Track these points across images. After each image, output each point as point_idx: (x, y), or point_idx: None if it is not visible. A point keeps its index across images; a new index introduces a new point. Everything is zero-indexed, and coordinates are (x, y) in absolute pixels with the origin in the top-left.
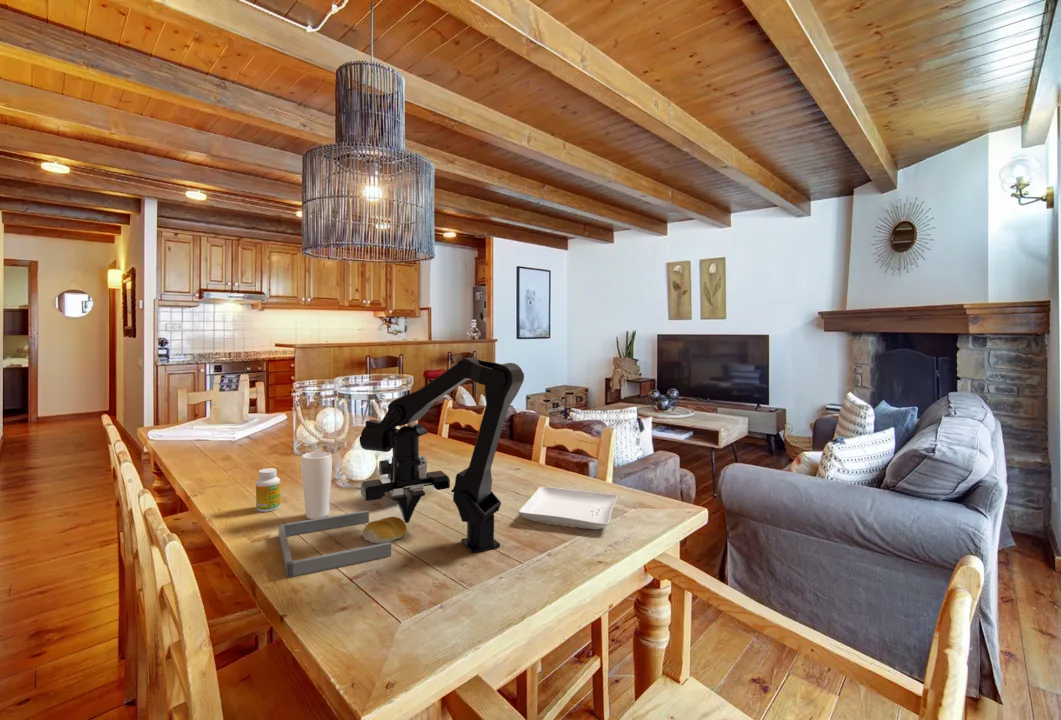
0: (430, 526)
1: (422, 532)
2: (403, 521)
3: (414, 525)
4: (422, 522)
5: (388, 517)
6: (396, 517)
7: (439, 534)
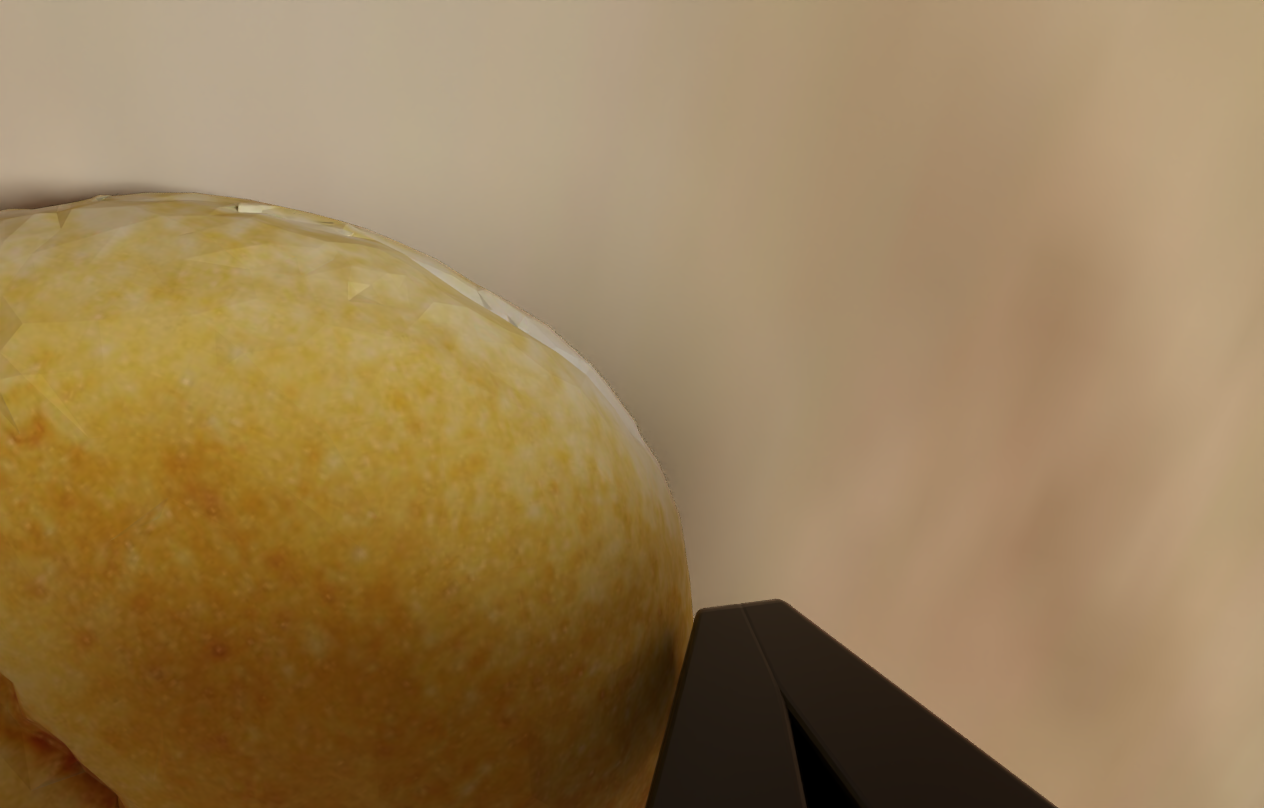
0: (1226, 411)
1: (964, 636)
2: (662, 680)
3: (954, 235)
4: (1190, 115)
5: (233, 605)
6: (481, 724)
7: (1181, 781)
